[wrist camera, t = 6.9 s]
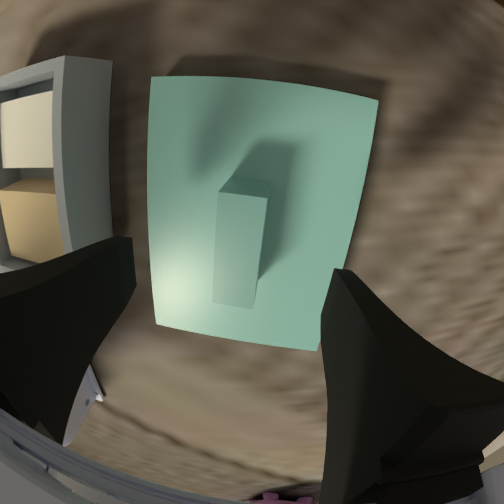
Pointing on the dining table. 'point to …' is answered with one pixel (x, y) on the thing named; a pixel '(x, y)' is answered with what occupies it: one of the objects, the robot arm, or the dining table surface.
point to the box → (54, 159)
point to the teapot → (272, 500)
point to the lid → (251, 203)
